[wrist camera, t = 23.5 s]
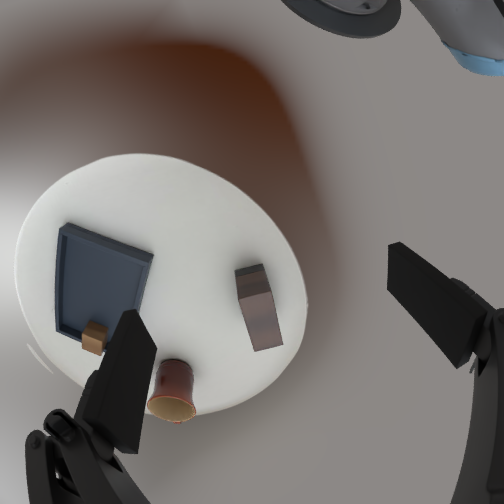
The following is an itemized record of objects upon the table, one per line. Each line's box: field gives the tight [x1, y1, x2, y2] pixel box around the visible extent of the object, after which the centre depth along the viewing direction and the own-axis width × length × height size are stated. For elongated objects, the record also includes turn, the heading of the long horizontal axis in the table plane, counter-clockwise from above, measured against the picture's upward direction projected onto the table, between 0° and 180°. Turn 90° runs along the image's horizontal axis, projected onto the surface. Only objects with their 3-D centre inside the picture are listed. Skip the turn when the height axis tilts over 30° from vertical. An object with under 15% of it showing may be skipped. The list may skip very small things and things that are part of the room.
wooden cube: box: [82, 320, 109, 356], centre depth 41 cm, size 4×4×4 cm
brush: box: [235, 264, 283, 352], centre depth 41 cm, size 10×4×8 cm, turn 13°
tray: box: [55, 223, 154, 352], centre depth 40 cm, size 22×16×3 cm
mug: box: [147, 360, 196, 424], centre depth 46 cm, size 12×9×10 cm
